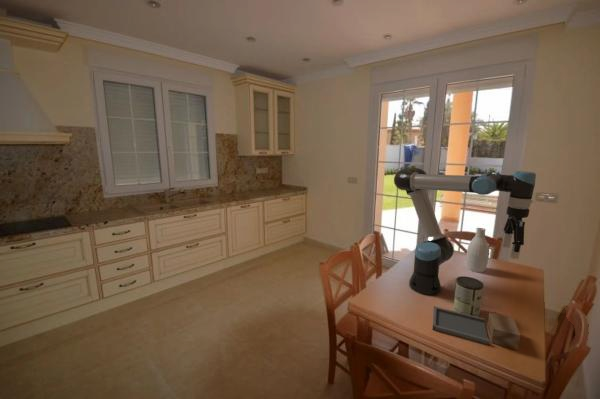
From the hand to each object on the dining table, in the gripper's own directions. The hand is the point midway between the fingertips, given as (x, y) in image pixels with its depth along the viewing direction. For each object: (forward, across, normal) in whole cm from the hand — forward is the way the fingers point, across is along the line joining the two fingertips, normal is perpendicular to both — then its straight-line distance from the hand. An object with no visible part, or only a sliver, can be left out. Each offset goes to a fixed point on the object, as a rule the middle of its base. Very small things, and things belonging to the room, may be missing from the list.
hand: (509, 252), depth 121 cm
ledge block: (+25, -28, +5) cm, 38 cm away
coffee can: (+26, -13, +15) cm, 33 cm away
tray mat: (+26, -27, +20) cm, 42 cm away
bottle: (+26, +36, +5) cm, 45 cm away
